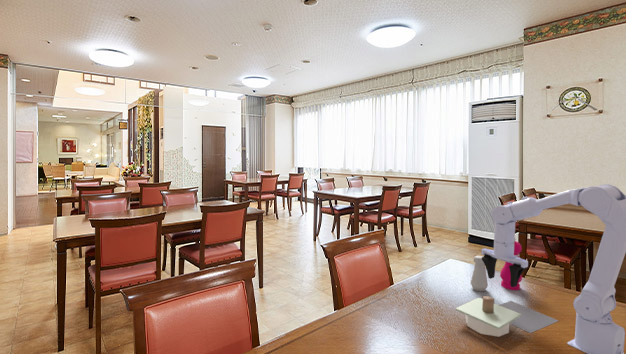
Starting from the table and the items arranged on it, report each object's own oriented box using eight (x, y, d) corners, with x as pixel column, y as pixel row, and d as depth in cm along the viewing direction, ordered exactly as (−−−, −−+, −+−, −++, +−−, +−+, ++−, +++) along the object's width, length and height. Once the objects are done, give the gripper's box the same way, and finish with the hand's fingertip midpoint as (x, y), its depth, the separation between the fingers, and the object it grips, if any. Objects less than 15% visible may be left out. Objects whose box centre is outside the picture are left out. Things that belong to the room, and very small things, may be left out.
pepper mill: (502, 290, 123) (504, 238, 122) (497, 282, 130) (499, 233, 129) (524, 292, 121) (526, 240, 120) (518, 284, 128) (520, 235, 126)
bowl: (515, 330, 96) (516, 317, 95) (491, 340, 91) (492, 326, 90) (481, 313, 106) (482, 302, 105) (458, 321, 101) (458, 309, 100)
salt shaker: (489, 293, 120) (490, 259, 119) (472, 292, 121) (474, 258, 120) (484, 287, 126) (485, 254, 125) (468, 286, 127) (469, 253, 126)
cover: (521, 316, 96) (522, 301, 96) (498, 329, 89) (499, 313, 89) (478, 299, 107) (479, 285, 107) (455, 310, 100) (455, 295, 100)
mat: (558, 321, 101) (559, 320, 101) (530, 334, 94) (530, 333, 94) (511, 301, 114) (511, 300, 114) (482, 311, 107) (483, 310, 107)
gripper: (534, 245, 101) (532, 287, 102) (491, 234, 114) (489, 272, 115) (521, 248, 98) (518, 292, 99) (477, 237, 111) (476, 275, 112)
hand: (502, 281), depth 107 cm, fingers open, 7 cm apart
